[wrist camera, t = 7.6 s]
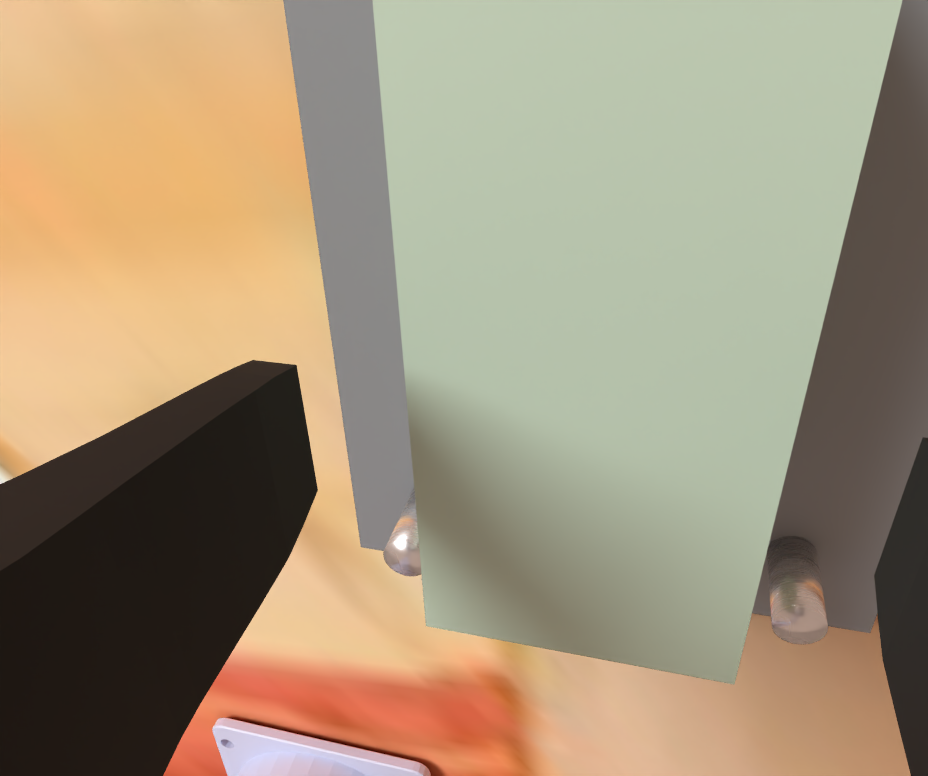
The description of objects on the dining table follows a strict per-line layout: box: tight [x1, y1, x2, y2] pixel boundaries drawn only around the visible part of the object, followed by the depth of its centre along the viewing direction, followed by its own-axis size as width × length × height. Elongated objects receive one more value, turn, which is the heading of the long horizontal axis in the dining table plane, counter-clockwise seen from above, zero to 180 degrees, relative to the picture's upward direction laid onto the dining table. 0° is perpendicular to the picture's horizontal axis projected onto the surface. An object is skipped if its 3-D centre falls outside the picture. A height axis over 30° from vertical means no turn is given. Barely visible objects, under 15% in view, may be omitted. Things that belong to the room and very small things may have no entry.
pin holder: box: [283, 0, 928, 644], centre depth 14 cm, size 17×12×3 cm
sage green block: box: [372, 0, 902, 684], centre depth 12 cm, size 10×5×5 cm, turn 2°
